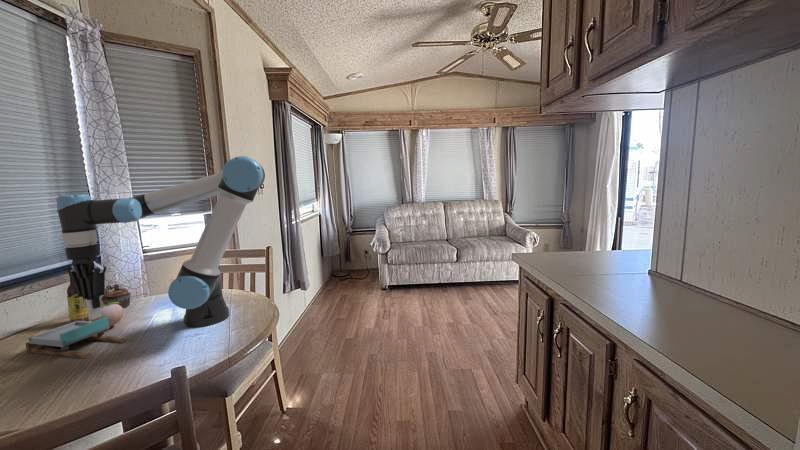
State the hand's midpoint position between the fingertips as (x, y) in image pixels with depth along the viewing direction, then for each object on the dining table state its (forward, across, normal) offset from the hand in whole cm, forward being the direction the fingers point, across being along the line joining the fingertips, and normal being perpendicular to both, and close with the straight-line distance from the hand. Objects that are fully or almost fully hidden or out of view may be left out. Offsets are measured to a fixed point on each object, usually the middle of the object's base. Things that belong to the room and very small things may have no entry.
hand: (95, 317), depth 104 cm
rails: (+10, +8, 0) cm, 13 cm away
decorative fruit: (+10, +13, -12) cm, 21 cm away
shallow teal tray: (+8, +11, +1) cm, 14 cm away
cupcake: (+10, +32, -29) cm, 45 cm away
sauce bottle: (+10, +31, -15) cm, 36 cm away
